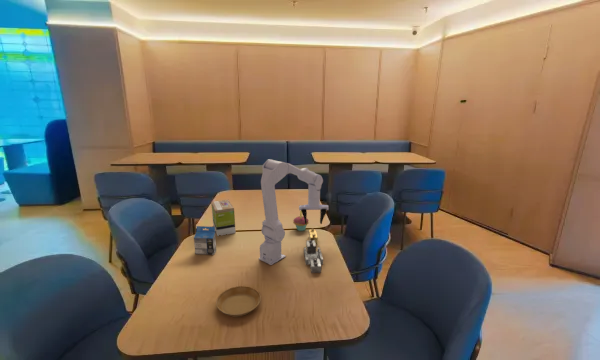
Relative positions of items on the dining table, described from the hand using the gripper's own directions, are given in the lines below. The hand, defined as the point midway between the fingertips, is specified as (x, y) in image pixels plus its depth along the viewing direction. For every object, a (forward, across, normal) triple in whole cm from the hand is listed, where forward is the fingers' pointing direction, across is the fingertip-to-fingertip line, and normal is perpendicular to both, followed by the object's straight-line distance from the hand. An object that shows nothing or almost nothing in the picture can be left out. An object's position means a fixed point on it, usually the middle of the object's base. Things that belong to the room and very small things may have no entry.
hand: (313, 223), depth 141 cm
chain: (+9, +2, +18) cm, 20 cm away
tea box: (+10, +48, -15) cm, 51 cm away
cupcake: (+10, +5, -14) cm, 18 cm away
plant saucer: (+10, +31, +47) cm, 57 cm away
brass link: (+10, 0, 0) cm, 10 cm away
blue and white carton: (+10, +51, +10) cm, 53 cm away
